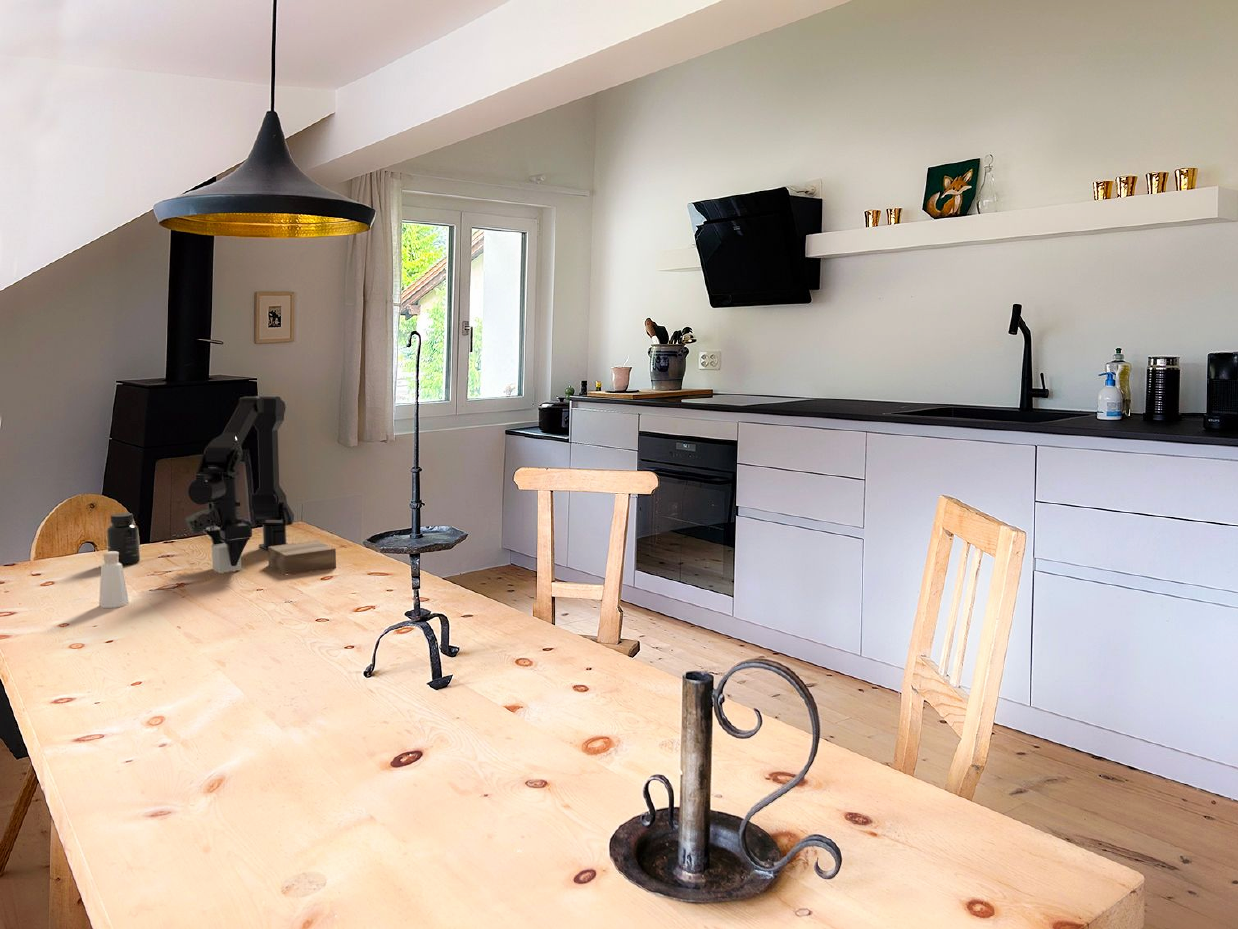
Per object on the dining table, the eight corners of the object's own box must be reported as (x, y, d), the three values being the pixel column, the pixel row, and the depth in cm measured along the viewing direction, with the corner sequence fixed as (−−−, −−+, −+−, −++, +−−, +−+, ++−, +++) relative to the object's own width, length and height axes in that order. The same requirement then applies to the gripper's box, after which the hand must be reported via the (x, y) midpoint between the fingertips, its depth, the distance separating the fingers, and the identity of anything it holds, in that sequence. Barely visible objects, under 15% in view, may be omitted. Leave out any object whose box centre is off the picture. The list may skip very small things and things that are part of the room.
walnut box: (268, 566, 229) (267, 546, 228) (317, 560, 237) (316, 540, 236) (286, 576, 220) (285, 555, 219) (336, 569, 227) (335, 548, 227)
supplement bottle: (101, 565, 228) (98, 516, 226) (124, 559, 234) (121, 511, 233) (124, 567, 226) (121, 517, 224) (146, 561, 232) (144, 513, 231)
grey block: (212, 569, 225) (211, 544, 224) (234, 566, 228) (233, 542, 227) (219, 573, 221) (218, 548, 220) (241, 570, 224) (240, 545, 223)
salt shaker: (97, 609, 191) (94, 556, 189) (100, 602, 196) (97, 550, 194) (127, 606, 193) (124, 554, 191) (129, 600, 198) (126, 548, 196)
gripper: (175, 495, 224) (178, 560, 226) (201, 506, 210) (204, 575, 212) (223, 491, 231) (226, 553, 233) (251, 501, 217) (254, 567, 219)
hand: (226, 562), depth 224 cm, fingers open, 9 cm apart
